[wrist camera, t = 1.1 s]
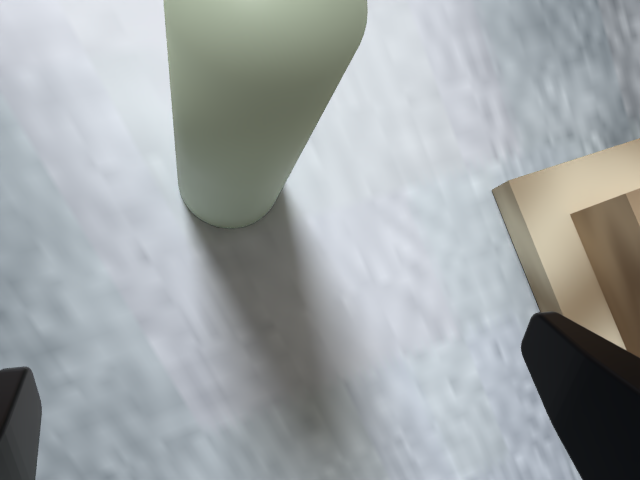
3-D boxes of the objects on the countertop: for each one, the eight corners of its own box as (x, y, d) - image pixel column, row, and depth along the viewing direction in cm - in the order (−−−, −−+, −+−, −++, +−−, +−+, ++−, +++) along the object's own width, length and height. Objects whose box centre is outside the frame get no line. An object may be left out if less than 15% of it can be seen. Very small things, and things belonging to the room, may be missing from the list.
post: (292, 212, 25) (395, 65, 12) (196, 241, 23) (201, 111, 11) (260, 121, 25) (328, -107, 13) (164, 145, 24) (135, -81, 12)
